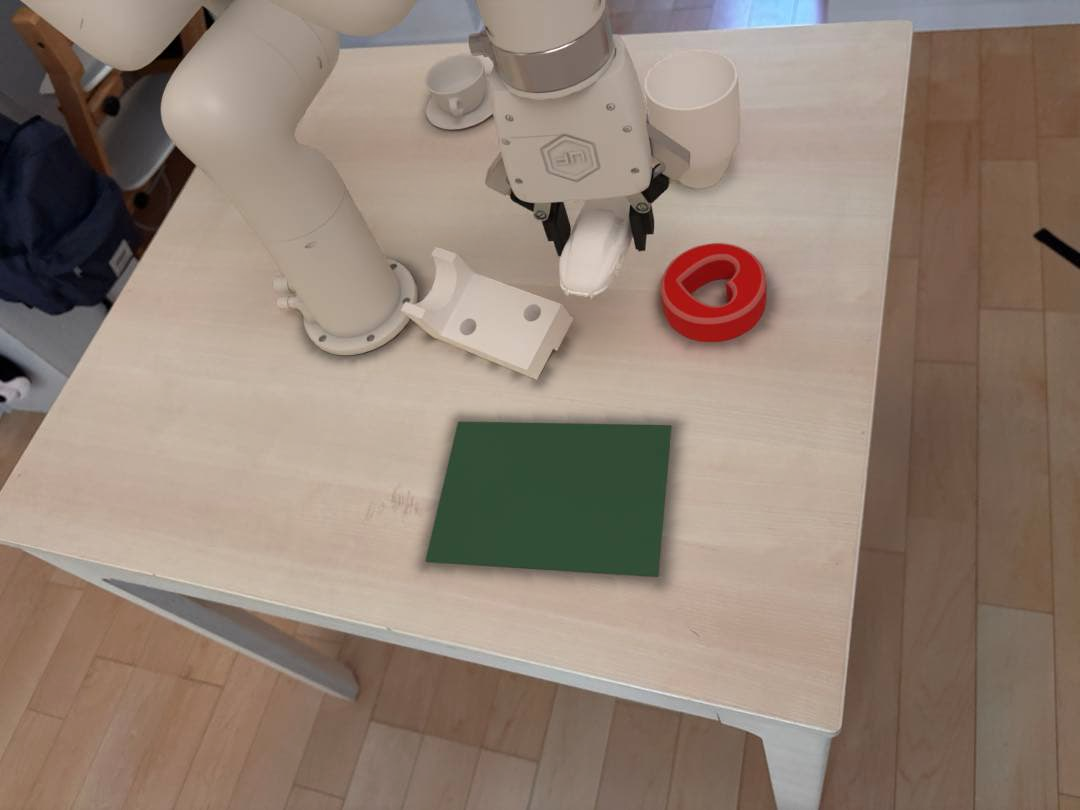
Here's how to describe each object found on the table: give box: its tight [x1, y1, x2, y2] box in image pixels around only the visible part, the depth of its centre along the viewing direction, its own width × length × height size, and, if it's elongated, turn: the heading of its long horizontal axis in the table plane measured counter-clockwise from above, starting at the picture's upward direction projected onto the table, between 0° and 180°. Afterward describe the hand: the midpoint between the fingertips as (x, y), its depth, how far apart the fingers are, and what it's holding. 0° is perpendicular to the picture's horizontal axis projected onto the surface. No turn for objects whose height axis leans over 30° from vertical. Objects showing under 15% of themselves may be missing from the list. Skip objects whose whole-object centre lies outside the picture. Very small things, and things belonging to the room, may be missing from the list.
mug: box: [643, 48, 741, 190], centre depth 88 cm, size 12×9×12 cm
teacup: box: [424, 52, 493, 130], centre depth 106 cm, size 10×10×5 cm
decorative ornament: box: [659, 242, 767, 343], centre depth 81 cm, size 10×10×3 cm
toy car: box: [558, 196, 634, 299], centre depth 68 cm, size 5×12×4 cm, turn 160°
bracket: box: [401, 246, 574, 381], centre depth 83 cm, size 13×7×8 cm, turn 57°
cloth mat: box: [425, 421, 672, 578], centre depth 75 cm, size 20×14×1 cm
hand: (602, 238), depth 69 cm, fingers closed on toy car, 5 cm apart
